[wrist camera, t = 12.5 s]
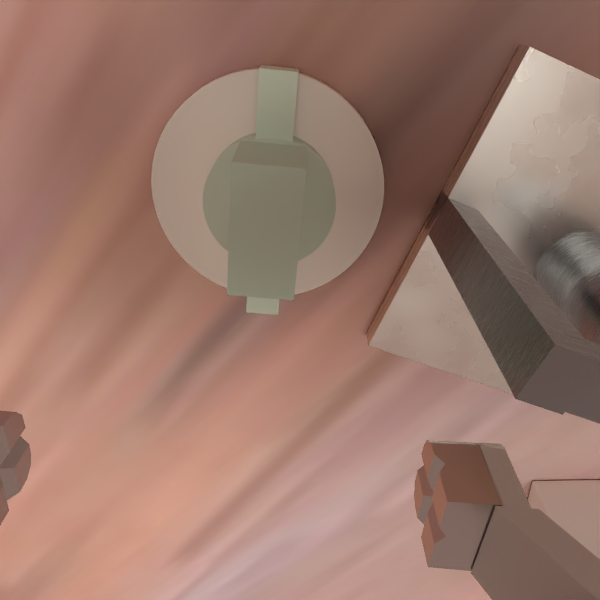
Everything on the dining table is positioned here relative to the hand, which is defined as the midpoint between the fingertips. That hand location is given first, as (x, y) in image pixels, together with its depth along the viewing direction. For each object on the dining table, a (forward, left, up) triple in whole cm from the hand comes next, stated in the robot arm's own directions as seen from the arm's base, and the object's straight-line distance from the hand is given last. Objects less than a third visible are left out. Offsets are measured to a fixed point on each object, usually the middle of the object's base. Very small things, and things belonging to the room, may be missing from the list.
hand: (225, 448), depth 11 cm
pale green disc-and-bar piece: (0, 0, -17) cm, 17 cm away
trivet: (0, 0, -18) cm, 18 cm away
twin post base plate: (-2, +16, -18) cm, 24 cm away
